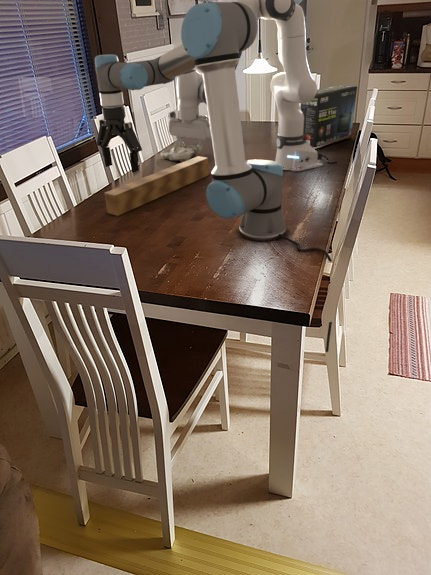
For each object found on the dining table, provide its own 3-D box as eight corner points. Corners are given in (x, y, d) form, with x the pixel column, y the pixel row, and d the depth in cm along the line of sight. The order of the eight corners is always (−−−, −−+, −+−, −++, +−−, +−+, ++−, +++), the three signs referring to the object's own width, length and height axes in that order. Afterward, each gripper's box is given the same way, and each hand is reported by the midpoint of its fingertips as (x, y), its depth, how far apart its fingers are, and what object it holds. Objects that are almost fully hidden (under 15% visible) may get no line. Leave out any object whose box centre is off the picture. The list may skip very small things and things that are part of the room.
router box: (314, 151, 231) (318, 94, 217) (296, 148, 237) (299, 92, 224) (352, 138, 251) (358, 85, 238) (335, 135, 258) (340, 83, 245)
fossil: (184, 156, 217) (163, 136, 220) (174, 174, 223) (154, 154, 227) (205, 153, 231) (186, 134, 234) (195, 171, 237) (176, 152, 240)
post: (117, 215, 166) (114, 195, 162) (107, 212, 169) (103, 192, 165) (208, 175, 204) (208, 157, 200) (198, 173, 207) (198, 156, 203)
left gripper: (147, 107, 150) (154, 170, 161) (96, 101, 163) (106, 161, 174) (131, 110, 145) (139, 176, 156) (80, 105, 158) (90, 166, 169)
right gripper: (214, 114, 183) (214, 149, 190) (175, 110, 194) (177, 143, 201) (204, 117, 179) (205, 153, 186) (165, 112, 189) (167, 146, 196)
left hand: (121, 168), depth 165 cm, fingers open, 13 cm apart
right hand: (190, 148), depth 193 cm, fingers open, 8 cm apart
